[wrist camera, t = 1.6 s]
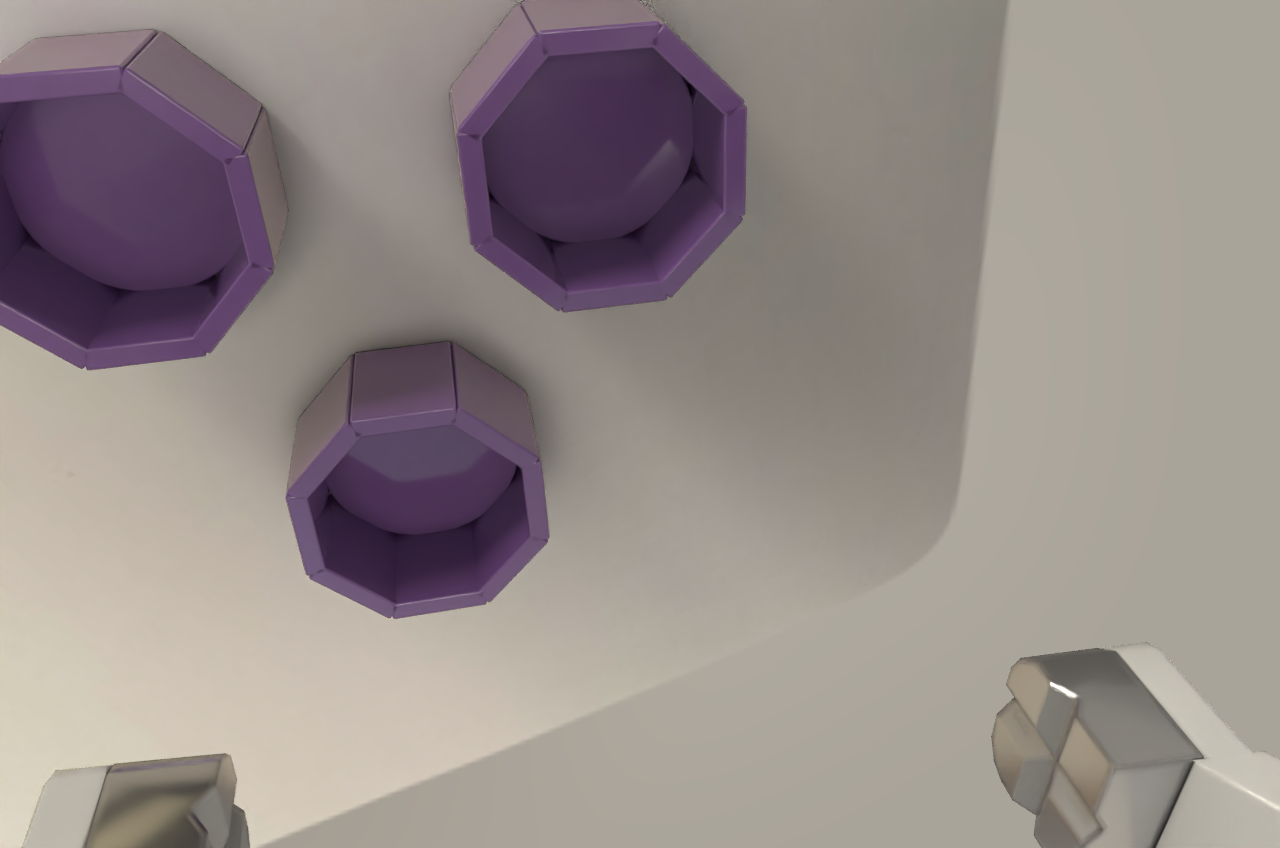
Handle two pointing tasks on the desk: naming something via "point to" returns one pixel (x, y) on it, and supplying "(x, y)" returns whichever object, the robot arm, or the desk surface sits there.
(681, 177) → the dish
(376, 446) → the dish
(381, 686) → the desk surface
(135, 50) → the dish
